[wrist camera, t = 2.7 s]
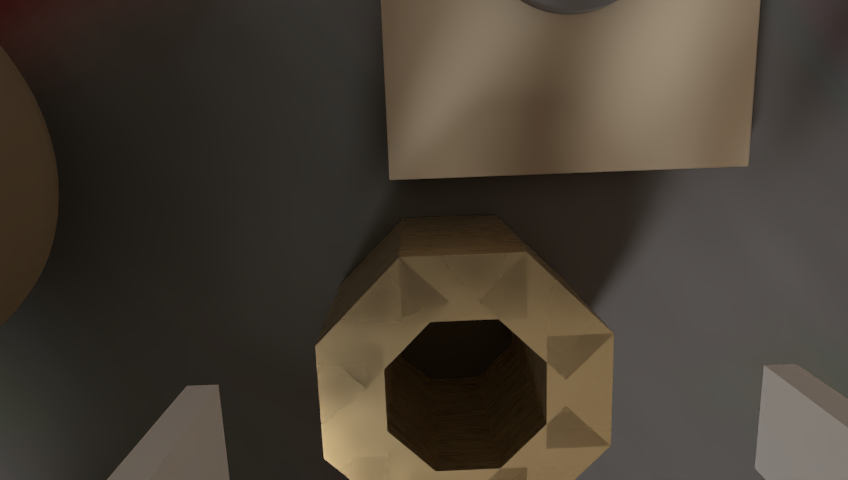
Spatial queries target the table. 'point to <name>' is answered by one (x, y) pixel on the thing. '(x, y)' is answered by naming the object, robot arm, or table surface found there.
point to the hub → (567, 85)
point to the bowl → (23, 189)
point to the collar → (462, 397)
